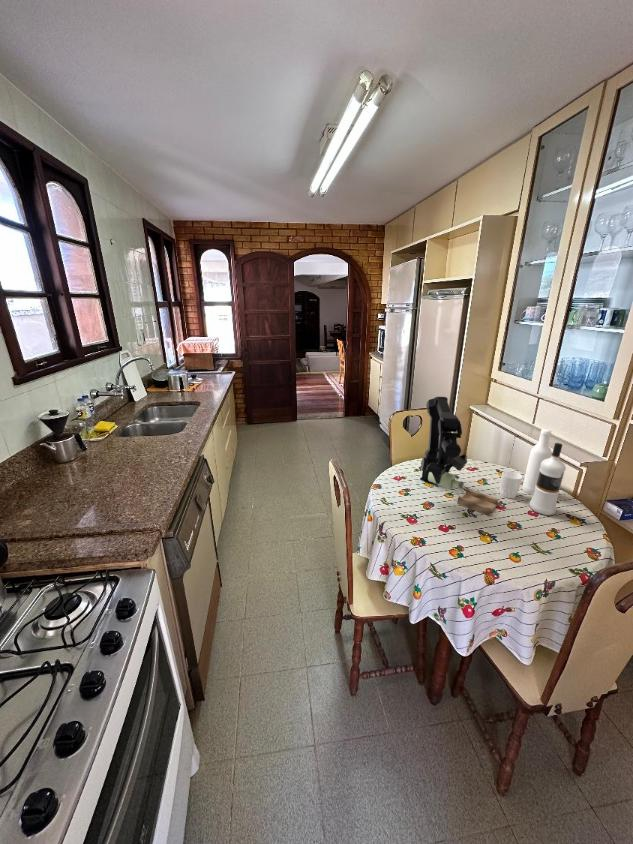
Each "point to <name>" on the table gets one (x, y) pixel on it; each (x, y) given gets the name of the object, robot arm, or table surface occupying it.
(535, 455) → the bottle
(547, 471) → the vodka
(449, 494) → the table surface
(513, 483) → the white cup
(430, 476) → the bottle
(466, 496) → the rest
